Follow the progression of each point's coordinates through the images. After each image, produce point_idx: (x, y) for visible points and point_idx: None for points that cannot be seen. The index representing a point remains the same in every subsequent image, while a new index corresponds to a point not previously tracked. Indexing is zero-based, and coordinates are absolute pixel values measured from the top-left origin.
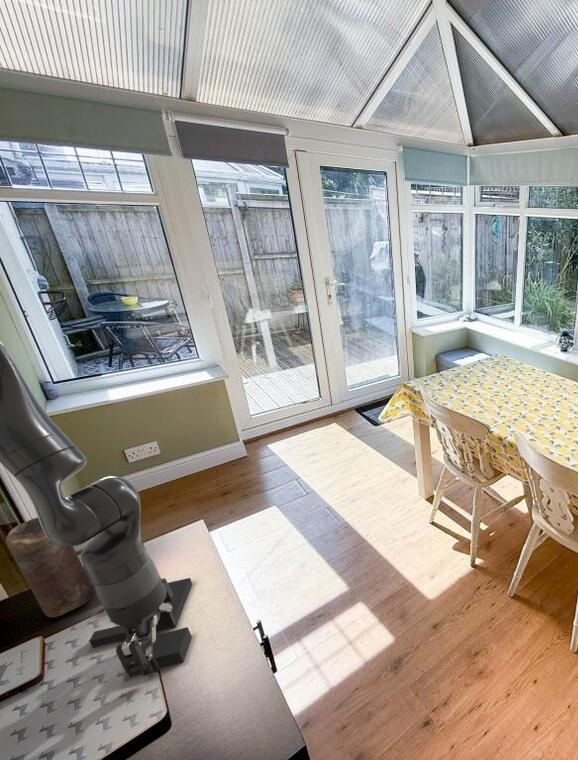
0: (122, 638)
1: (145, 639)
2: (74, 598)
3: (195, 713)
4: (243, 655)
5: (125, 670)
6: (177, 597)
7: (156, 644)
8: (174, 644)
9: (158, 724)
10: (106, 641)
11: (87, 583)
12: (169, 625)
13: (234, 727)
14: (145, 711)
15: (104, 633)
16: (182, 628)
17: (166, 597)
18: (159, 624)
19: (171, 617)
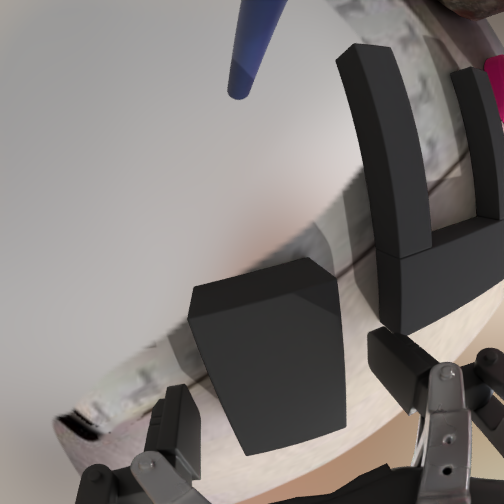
0: (366, 153)
1: (331, 321)
2: None
3: (122, 465)
4: (246, 489)
5: (79, 489)
6: (473, 285)
7: (292, 384)
8: (280, 433)
9: (85, 422)
10: (357, 98)
11: (495, 9)
12: (376, 365)
13: None
14: (99, 390)
15: (386, 84)
16: (345, 418)
17: (487, 398)
18: (388, 351)
19: (398, 400)
